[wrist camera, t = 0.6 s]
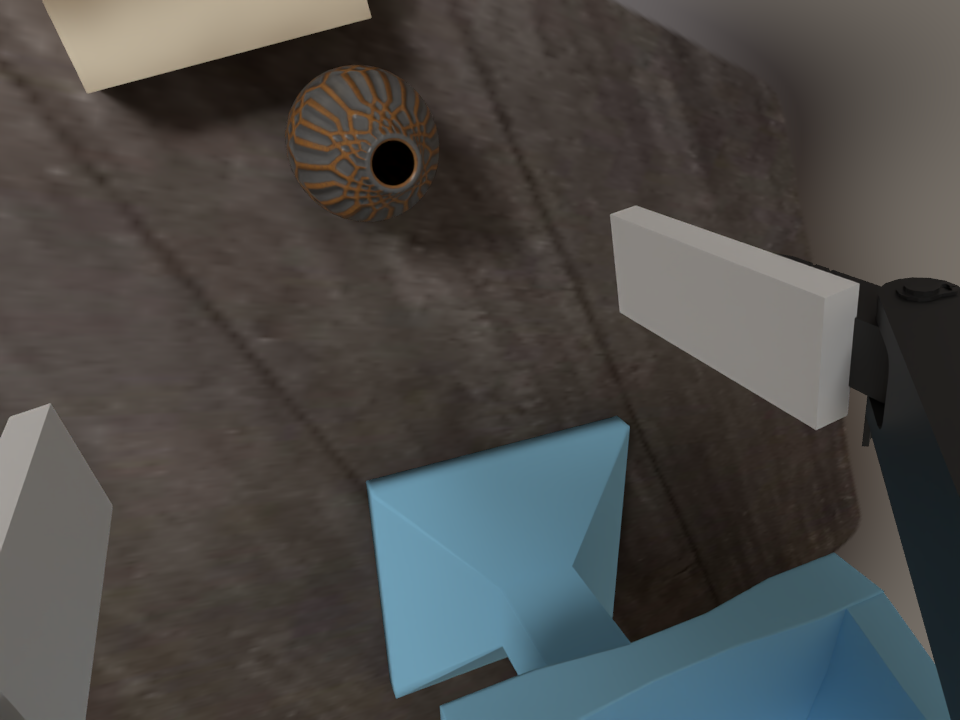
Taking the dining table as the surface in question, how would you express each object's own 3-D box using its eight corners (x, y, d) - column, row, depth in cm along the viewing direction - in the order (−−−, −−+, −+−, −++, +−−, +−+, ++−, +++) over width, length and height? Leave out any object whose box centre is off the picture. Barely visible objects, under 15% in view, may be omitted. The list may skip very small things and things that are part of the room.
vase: (430, 99, 36) (499, 118, 28) (380, 221, 37) (433, 268, 30) (305, 34, 32) (346, 37, 25) (256, 172, 34) (281, 212, 26)
